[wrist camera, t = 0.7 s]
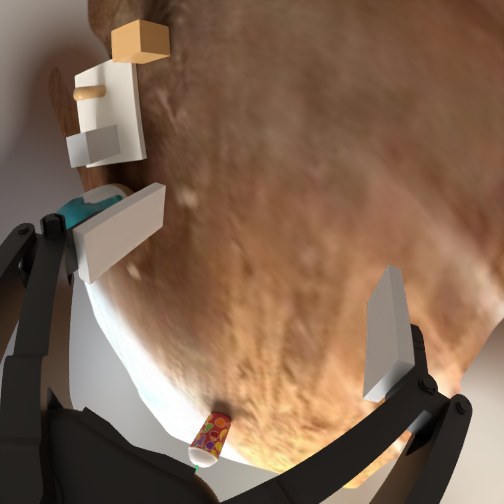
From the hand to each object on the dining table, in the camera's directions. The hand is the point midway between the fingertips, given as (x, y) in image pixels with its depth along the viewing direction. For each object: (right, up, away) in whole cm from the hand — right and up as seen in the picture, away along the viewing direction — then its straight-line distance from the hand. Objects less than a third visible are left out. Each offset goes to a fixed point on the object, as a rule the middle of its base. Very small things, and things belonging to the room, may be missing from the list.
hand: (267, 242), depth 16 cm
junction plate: (-25, +23, +25) cm, 42 cm away
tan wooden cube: (-15, +30, +18) cm, 38 cm away
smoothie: (-10, -48, +59) cm, 77 cm away
